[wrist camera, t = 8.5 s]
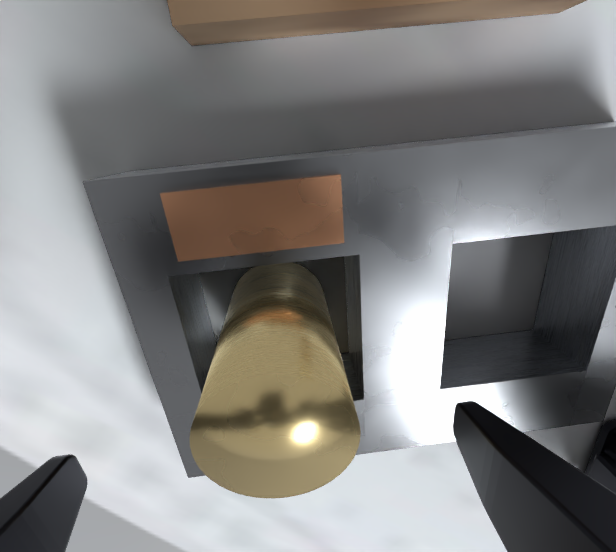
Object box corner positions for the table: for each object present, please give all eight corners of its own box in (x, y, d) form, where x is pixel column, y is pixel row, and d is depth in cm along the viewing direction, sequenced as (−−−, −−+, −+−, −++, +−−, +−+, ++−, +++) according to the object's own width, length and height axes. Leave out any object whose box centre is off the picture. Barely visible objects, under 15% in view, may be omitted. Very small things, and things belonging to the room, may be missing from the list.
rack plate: (615, 121, 12) (722, 116, 9) (550, 375, 17) (607, 424, 14) (129, 171, 12) (78, 182, 9) (203, 420, 16) (186, 482, 13)
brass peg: (321, 255, 13) (358, 363, 7) (327, 337, 15) (362, 486, 9) (223, 266, 13) (169, 386, 7) (240, 347, 15) (209, 507, 8)
